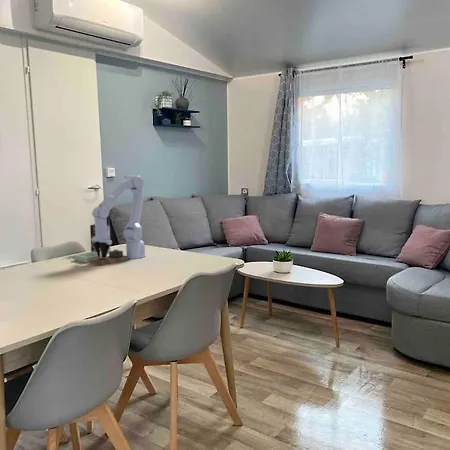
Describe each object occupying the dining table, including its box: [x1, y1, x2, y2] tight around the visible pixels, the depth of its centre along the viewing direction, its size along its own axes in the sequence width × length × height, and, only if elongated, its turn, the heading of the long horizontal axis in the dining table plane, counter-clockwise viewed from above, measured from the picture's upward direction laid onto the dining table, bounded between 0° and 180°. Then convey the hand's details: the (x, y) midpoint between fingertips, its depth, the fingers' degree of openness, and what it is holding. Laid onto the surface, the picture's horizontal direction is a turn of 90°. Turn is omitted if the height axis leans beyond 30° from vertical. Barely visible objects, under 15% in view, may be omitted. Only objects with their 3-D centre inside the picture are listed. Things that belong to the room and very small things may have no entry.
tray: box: [74, 251, 100, 264], centre depth 246 cm, size 11×11×3 cm
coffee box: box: [89, 223, 111, 254], centre depth 264 cm, size 9×6×16 cm
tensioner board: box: [88, 249, 129, 267], centre depth 242 cm, size 18×8×6 cm, turn 139°
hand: (102, 256), depth 239 cm, fingers closed on lock pin, 3 cm apart
